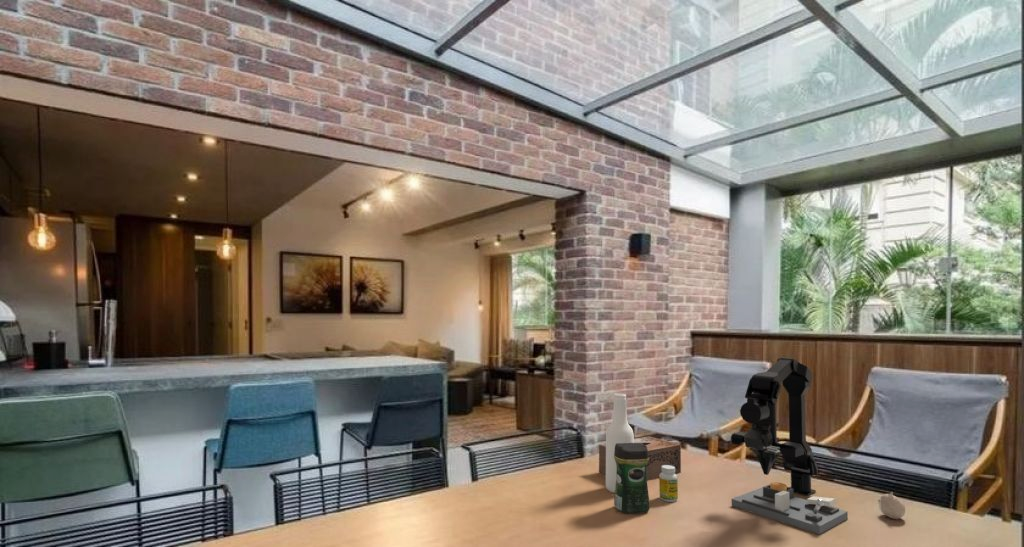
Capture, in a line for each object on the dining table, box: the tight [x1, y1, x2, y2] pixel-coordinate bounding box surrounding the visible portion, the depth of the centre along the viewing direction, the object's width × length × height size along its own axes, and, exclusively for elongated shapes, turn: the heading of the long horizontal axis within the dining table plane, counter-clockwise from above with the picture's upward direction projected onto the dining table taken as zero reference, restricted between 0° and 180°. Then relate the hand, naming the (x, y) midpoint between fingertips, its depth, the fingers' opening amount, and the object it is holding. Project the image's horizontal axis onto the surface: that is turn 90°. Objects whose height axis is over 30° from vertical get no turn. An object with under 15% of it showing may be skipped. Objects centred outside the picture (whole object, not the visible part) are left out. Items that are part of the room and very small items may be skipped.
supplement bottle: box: [658, 465, 679, 503], centre depth 156 cm, size 5×5×10 cm
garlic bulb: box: [877, 491, 906, 520], centre depth 145 cm, size 7×6×8 cm
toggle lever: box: [813, 499, 824, 514], centre depth 137 cm, size 2×2×4 cm
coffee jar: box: [613, 443, 651, 514], centre depth 148 cm, size 10×8×19 cm
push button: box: [769, 481, 788, 491], centre depth 155 cm, size 4×4×3 cm
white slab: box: [806, 496, 837, 507], centre depth 145 cm, size 4×6×1 cm, turn 37°
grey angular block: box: [775, 491, 790, 511], centre depth 144 cm, size 5×2×4 cm, turn 127°
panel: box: [731, 484, 849, 535], centre depth 147 cm, size 18×24×4 cm
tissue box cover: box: [598, 436, 682, 481], centre depth 182 cm, size 26×14×10 cm, turn 123°
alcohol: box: [605, 392, 635, 494], centre depth 165 cm, size 9×9×30 cm
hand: (766, 474), depth 148 cm, fingers closed
